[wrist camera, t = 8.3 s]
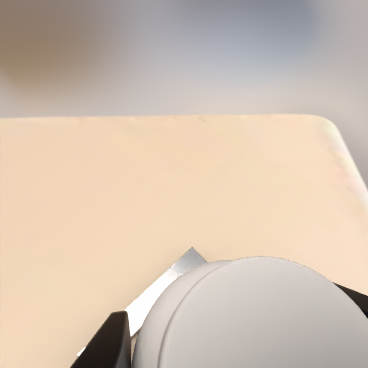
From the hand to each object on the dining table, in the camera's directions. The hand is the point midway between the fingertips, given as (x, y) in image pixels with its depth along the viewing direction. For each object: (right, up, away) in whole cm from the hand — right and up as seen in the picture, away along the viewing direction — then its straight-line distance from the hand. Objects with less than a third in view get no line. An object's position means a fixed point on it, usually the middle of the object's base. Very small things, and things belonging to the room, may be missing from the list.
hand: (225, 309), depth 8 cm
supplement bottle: (0, -5, +5) cm, 7 cm away
